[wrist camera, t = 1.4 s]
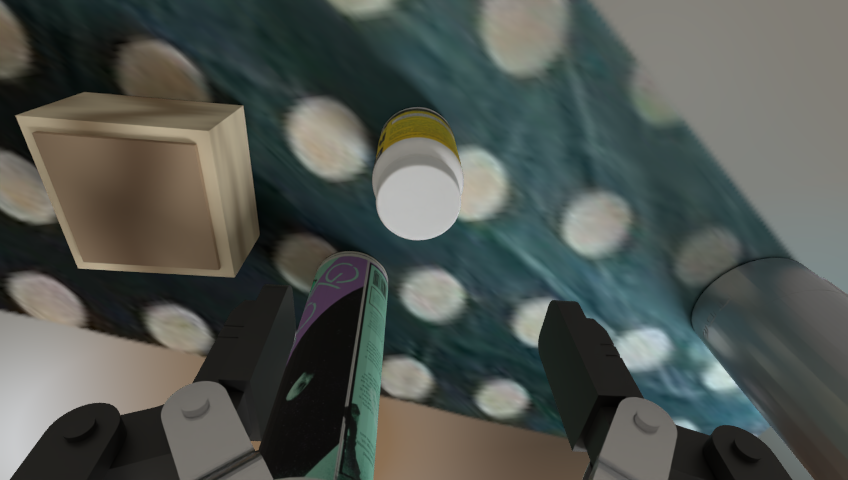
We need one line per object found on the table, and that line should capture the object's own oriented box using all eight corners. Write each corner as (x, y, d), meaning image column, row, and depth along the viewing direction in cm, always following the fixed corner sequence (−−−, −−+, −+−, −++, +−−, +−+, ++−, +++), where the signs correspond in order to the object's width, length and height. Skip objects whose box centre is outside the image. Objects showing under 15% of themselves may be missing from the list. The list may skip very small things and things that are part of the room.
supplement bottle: (373, 110, 25) (358, 161, 18) (451, 100, 25) (466, 148, 18) (386, 183, 28) (377, 252, 21) (457, 174, 28) (472, 242, 21)
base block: (243, 105, 25) (206, 132, 21) (260, 234, 30) (232, 280, 25) (84, 92, 24) (10, 117, 20) (127, 226, 29) (74, 271, 25)
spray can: (332, 239, 30) (229, 575, 13) (400, 268, 32) (388, 605, 15) (305, 292, 33) (188, 634, 16) (369, 317, 34) (327, 654, 17)
